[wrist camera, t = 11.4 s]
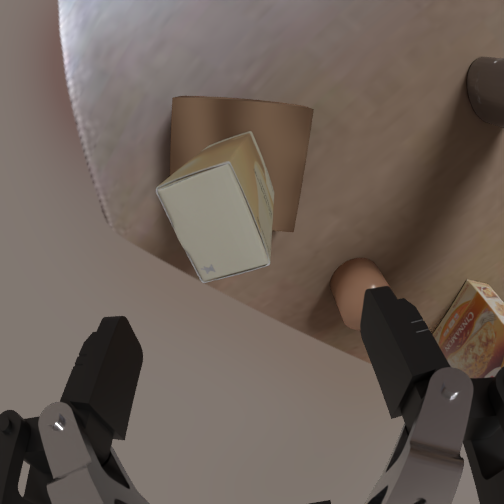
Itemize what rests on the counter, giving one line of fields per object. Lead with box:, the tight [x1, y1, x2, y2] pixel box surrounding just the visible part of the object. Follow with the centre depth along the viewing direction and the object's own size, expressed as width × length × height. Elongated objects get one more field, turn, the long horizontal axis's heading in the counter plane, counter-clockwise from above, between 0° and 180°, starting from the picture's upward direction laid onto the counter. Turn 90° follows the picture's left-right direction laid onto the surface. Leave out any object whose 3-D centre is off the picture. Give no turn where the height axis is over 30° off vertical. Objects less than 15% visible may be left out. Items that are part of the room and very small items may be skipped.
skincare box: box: [156, 131, 274, 283], centre depth 21 cm, size 6×4×12 cm
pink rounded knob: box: [330, 258, 395, 330], centre depth 36 cm, size 7×7×6 cm
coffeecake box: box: [432, 279, 504, 378], centre depth 36 cm, size 15×7×20 cm, turn 167°
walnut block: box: [170, 96, 314, 232], centre depth 28 cm, size 12×12×5 cm
